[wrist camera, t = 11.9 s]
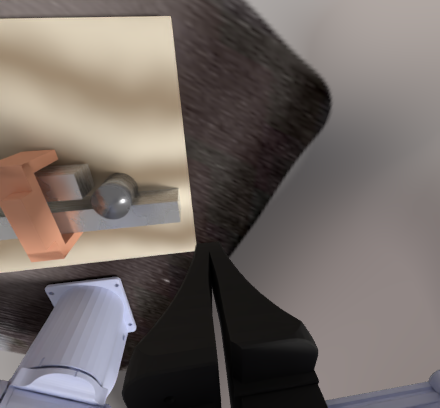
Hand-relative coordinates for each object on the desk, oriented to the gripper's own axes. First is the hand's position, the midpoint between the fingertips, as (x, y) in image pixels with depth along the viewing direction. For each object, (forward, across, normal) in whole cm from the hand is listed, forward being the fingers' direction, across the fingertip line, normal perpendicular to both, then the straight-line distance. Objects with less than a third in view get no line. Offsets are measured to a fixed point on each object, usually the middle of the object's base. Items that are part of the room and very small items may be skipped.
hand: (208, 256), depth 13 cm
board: (+10, +12, -3) cm, 16 cm away
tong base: (+9, +13, 0) cm, 16 cm away
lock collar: (+9, +12, -1) cm, 15 cm away
